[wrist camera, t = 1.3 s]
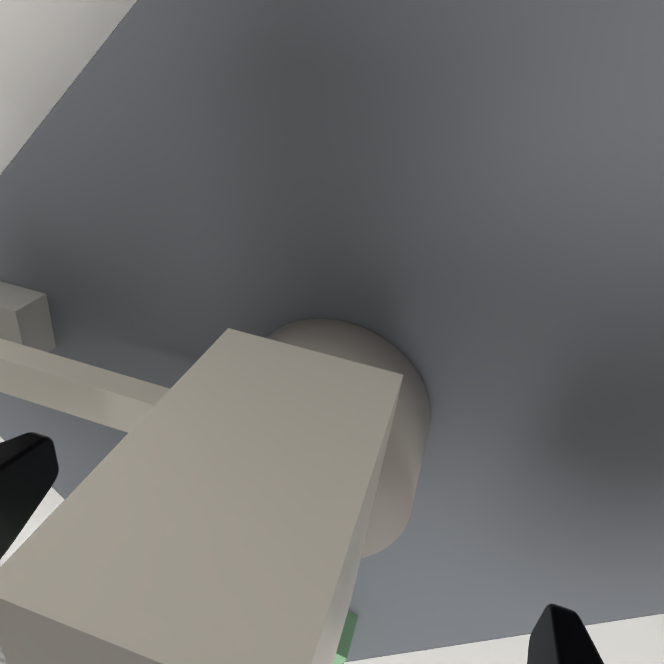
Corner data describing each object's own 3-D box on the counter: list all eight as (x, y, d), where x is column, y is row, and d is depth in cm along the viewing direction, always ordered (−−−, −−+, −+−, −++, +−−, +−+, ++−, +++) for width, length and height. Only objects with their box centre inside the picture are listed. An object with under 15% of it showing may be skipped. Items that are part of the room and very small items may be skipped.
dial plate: (663, -568, 6) (754, -930, 4) (1058, 478, 10) (1221, 612, 8) (-70, 300, 17) (-162, 344, 15) (261, 638, 21) (230, 715, 19)
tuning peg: (461, 314, 10) (380, 750, 4) (403, 519, 13) (306, 946, 7) (-55, 190, 13) (-615, 350, 6) (-3, 391, 16) (-344, 630, 9)
